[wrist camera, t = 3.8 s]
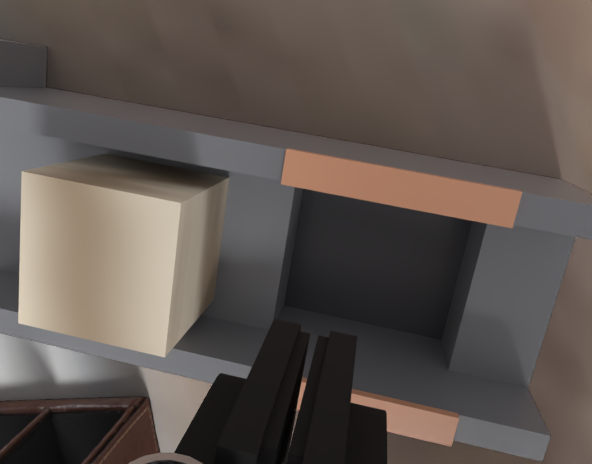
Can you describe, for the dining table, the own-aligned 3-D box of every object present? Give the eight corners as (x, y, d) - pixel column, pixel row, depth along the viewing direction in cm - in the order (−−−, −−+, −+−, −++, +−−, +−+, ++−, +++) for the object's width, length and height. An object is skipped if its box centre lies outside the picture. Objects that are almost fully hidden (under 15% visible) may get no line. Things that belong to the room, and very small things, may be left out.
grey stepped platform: (575, 136, 21) (651, 154, 15) (494, 406, 24) (530, 510, 18) (-196, 6, 25) (-383, -22, 19) (-176, 253, 28) (-330, 296, 22)
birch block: (229, 177, 20) (181, 203, 16) (213, 299, 22) (164, 357, 17) (105, 153, 21) (21, 171, 16) (97, 273, 22) (18, 323, 18)
